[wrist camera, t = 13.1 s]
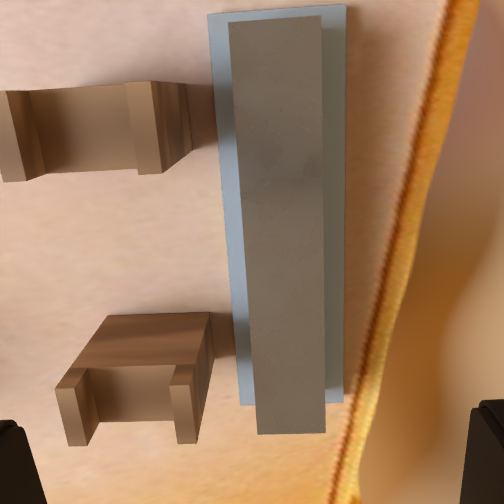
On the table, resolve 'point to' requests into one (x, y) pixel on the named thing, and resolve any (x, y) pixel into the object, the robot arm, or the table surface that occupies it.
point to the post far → (140, 375)
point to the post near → (93, 129)
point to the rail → (282, 215)
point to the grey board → (332, 186)
